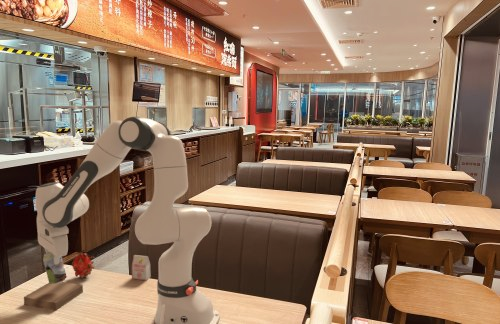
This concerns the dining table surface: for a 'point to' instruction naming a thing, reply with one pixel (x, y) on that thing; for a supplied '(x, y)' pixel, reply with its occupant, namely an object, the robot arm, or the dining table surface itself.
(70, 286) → the walnut base
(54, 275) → the beverage can
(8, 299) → the dining table surface
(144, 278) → the tea bag
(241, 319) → the dining table surface
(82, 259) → the dragon fruit
